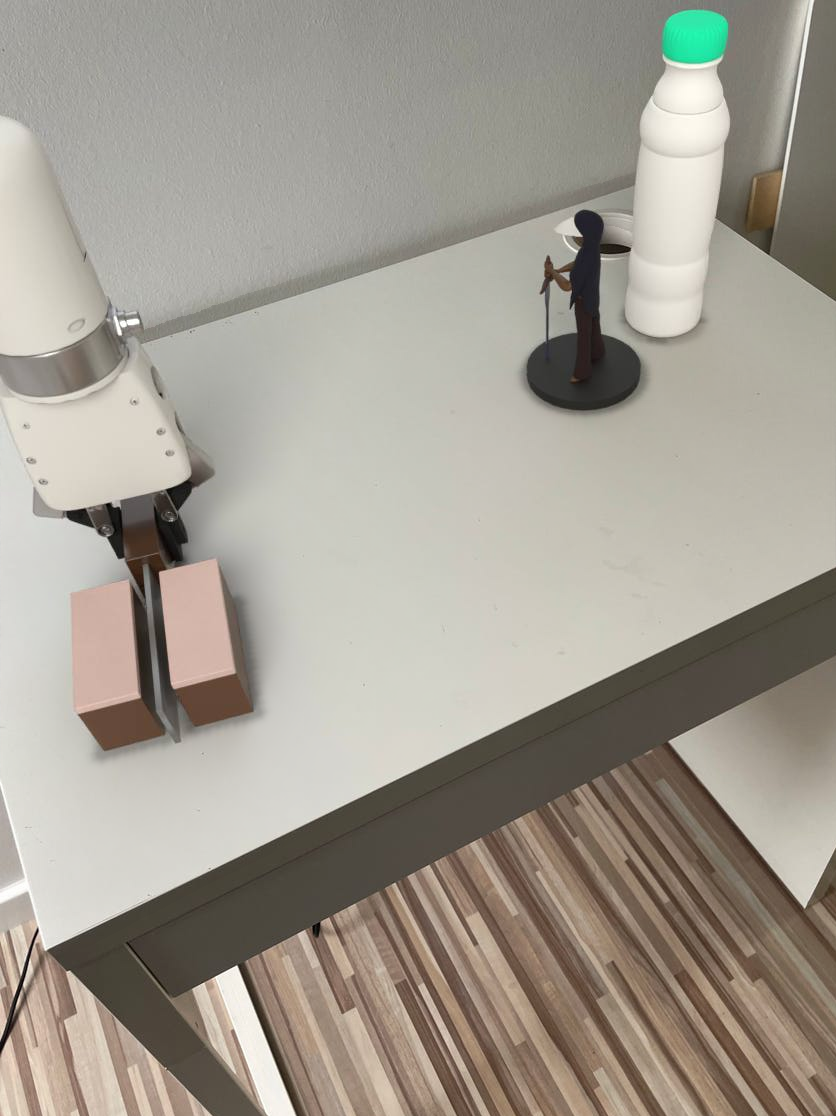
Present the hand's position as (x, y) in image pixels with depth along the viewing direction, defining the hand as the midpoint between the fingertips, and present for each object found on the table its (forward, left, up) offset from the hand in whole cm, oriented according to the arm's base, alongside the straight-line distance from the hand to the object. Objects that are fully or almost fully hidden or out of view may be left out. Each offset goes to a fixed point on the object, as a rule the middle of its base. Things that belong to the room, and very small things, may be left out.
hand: (156, 552), depth 71 cm
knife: (+4, -5, 0) cm, 7 cm away
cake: (+6, -9, -1) cm, 11 cm away
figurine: (+25, +31, -1) cm, 40 cm away
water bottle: (+30, +41, -1) cm, 51 cm away
